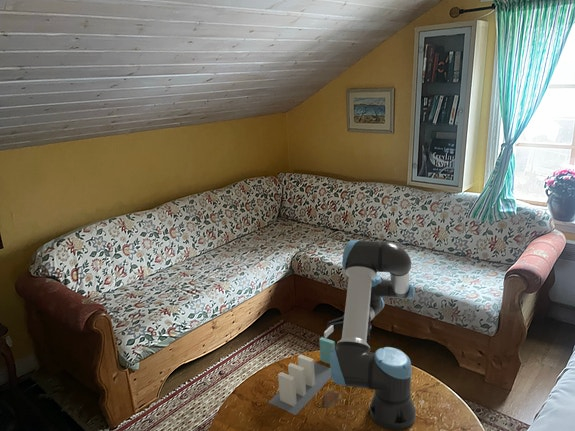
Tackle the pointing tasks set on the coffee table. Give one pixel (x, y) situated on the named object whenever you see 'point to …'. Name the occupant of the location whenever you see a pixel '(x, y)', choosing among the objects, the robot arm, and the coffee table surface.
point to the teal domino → (326, 349)
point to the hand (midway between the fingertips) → (338, 339)
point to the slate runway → (321, 378)
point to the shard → (330, 398)
